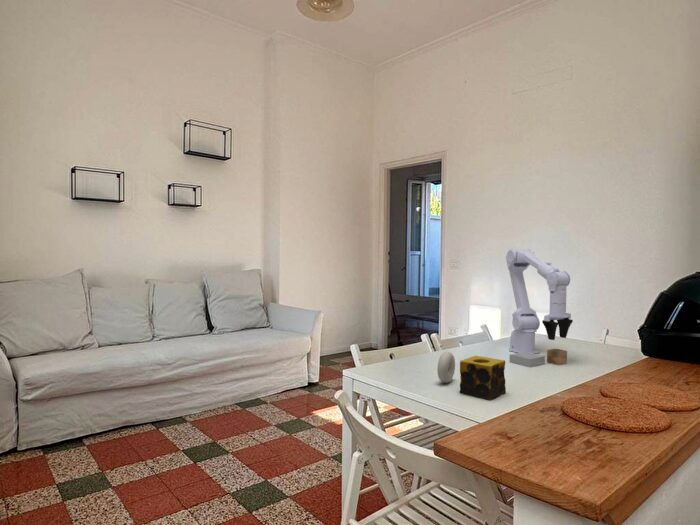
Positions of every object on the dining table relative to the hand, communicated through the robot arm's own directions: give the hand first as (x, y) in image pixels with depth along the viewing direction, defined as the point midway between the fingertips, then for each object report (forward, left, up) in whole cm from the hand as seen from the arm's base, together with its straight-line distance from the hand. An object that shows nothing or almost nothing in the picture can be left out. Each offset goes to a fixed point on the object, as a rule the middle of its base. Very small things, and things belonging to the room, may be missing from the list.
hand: (557, 338), depth 175 cm
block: (0, 0, -10) cm, 10 cm away
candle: (+10, -54, -10) cm, 56 cm away
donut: (-4, -55, -10) cm, 56 cm away
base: (-6, -10, -9) cm, 15 cm away
